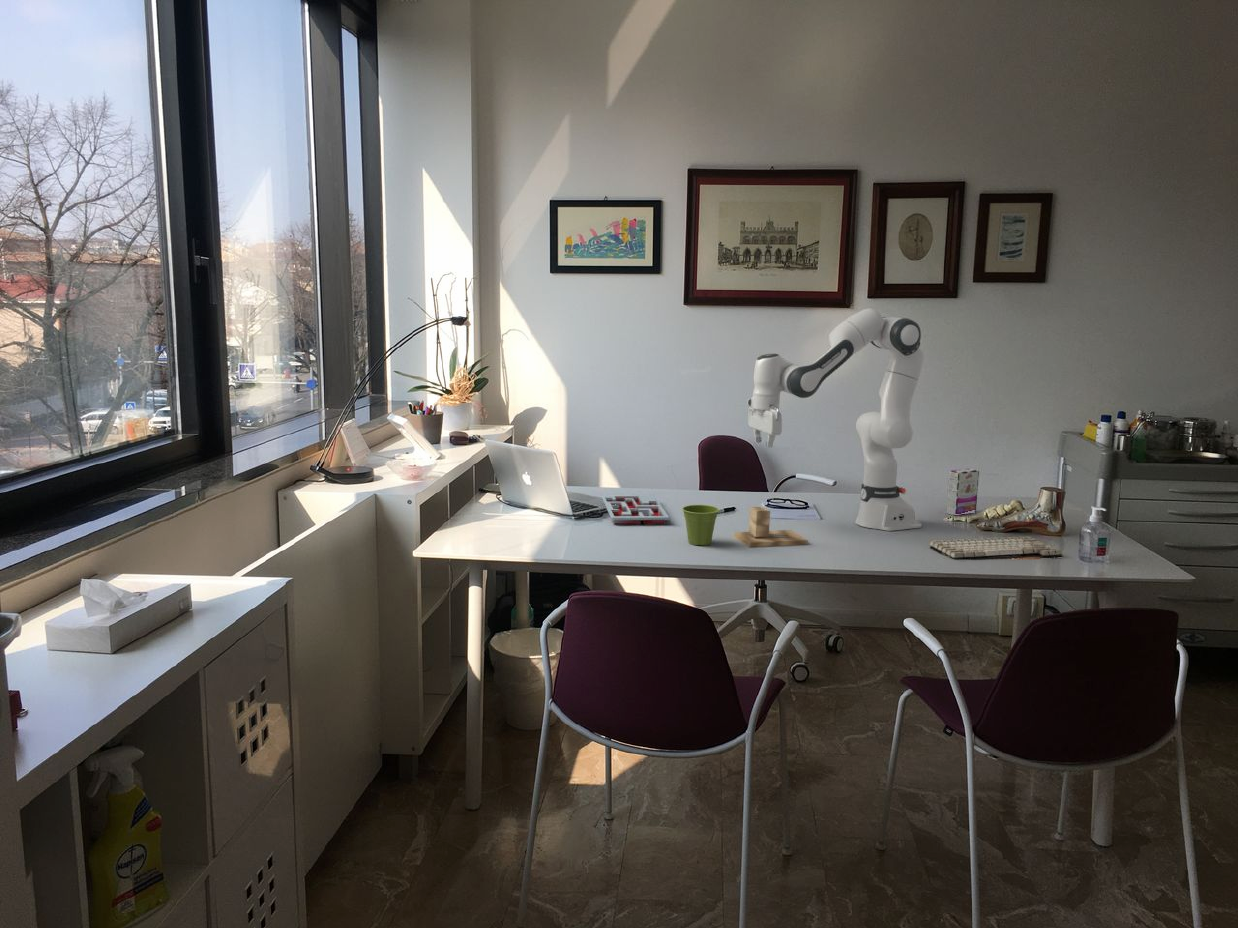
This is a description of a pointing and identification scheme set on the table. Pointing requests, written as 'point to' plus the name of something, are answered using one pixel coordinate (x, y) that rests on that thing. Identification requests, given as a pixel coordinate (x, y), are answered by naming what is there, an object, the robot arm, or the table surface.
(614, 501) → the maze game
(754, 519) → the block
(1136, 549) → the table surface
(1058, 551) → the mechanical keyboard
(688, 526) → the plant pot
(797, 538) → the board
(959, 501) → the candy bar box
